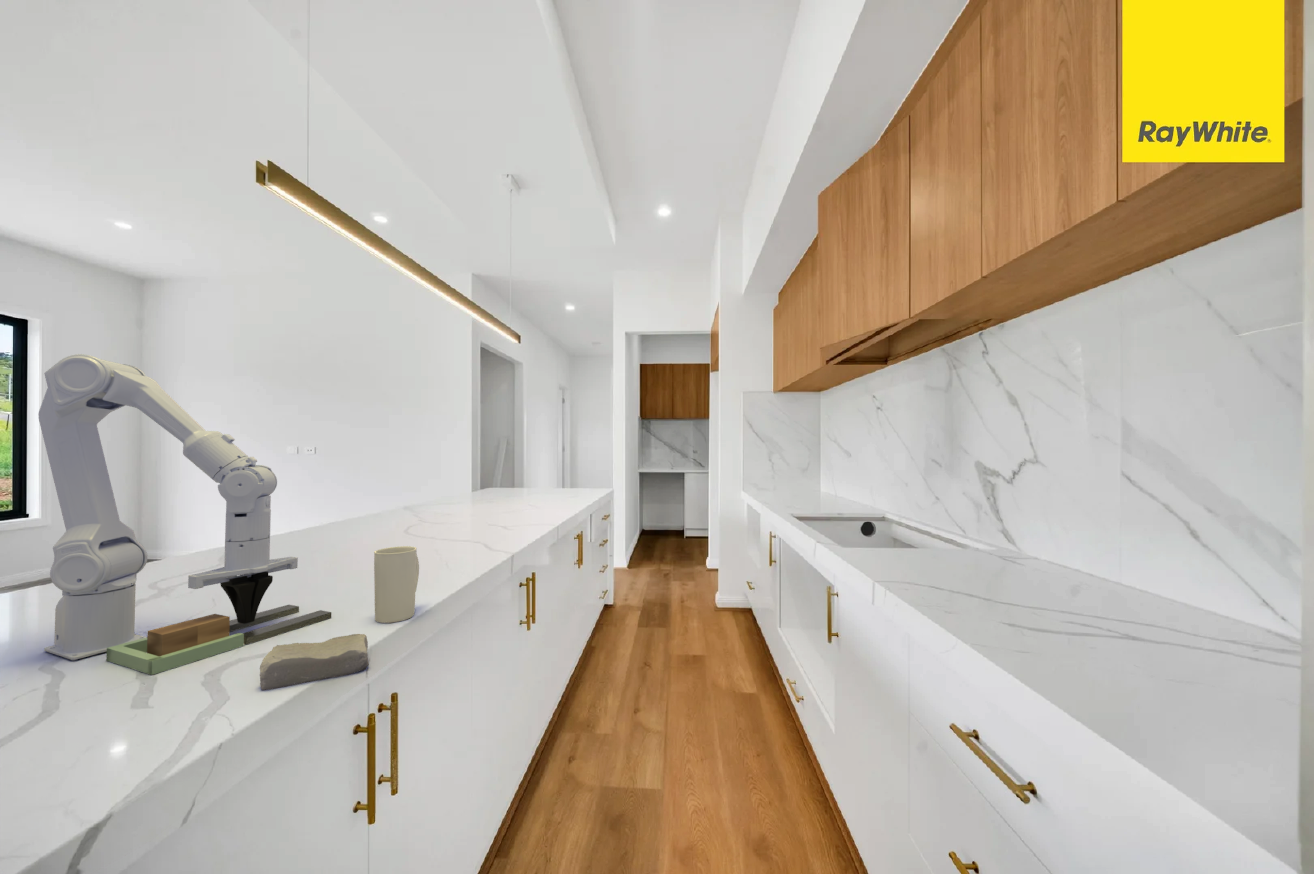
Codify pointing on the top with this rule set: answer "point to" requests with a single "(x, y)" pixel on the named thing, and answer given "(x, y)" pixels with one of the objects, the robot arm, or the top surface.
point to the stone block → (313, 661)
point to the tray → (151, 664)
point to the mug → (395, 583)
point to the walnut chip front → (172, 638)
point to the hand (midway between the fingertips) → (246, 621)
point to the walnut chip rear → (211, 627)
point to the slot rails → (278, 627)
